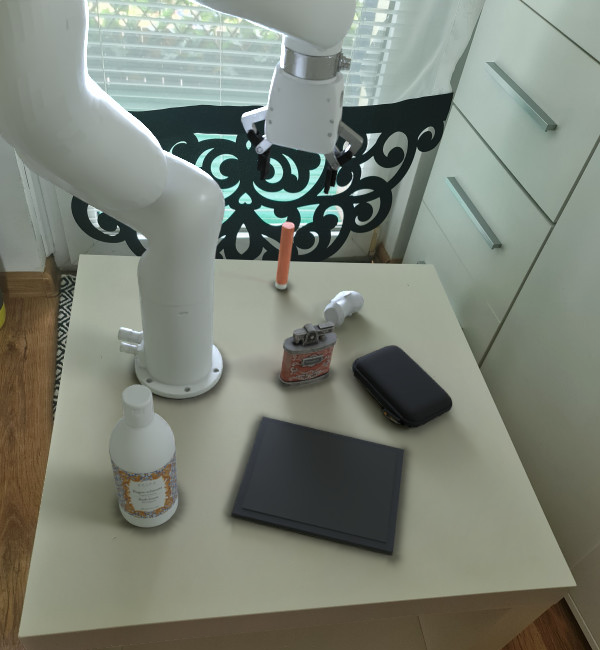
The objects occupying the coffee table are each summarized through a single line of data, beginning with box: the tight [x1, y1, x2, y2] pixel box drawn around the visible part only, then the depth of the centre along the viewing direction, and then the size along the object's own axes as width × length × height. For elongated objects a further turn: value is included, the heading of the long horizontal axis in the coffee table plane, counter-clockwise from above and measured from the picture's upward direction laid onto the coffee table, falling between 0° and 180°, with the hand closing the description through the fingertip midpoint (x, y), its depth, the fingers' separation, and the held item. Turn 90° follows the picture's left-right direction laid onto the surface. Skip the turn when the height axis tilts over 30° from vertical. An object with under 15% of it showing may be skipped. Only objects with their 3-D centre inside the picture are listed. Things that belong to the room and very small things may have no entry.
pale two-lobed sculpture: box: [323, 290, 365, 327], centre depth 101 cm, size 4×8×5 cm
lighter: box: [278, 321, 338, 388], centre depth 88 cm, size 8×3×10 cm, turn 114°
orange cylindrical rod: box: [274, 221, 296, 290], centre depth 101 cm, size 2×2×12 cm
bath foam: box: [108, 384, 179, 528], centre depth 67 cm, size 7×7×20 cm
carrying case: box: [351, 344, 453, 429], centre depth 91 cm, size 11×3×15 cm
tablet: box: [231, 415, 405, 556], centre depth 80 cm, size 20×16×1 cm
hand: (295, 182), depth 92 cm, fingers open, 9 cm apart
